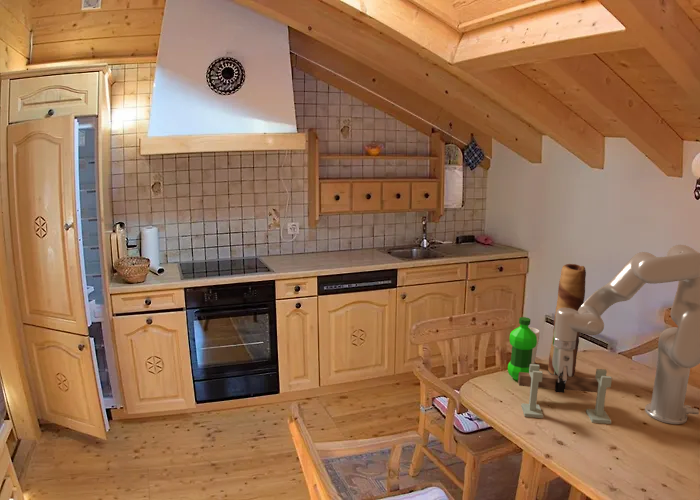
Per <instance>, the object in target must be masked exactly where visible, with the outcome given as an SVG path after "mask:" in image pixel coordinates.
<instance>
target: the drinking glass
mask: <svg viewBox="0 0 700 500" xmlns="http://www.w3.org/2000/svg"><path fill="white" fill-rule="evenodd" d="M528 327H529V328H530V329H531V330H532V331H533V332H534V333H535V334H536V337H537V344H536V347H534V348H533V350H532V360H531V364H536V356H537V352H538V347H539V341H540V330H539V329H537V328H536V327H531V326H528Z"/></svg>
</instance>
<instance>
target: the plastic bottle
mask: <svg viewBox="0 0 700 500" xmlns="http://www.w3.org/2000/svg"><path fill="white" fill-rule="evenodd" d="M518 324H519V326H518V327H516V328H514V329H513V330H511V331H510V334H509V344H510V345H511V356H510V361H509V362H508V364H507V373H508V375H509V376H511V378H512V379H513V380H514V381H517V382H518V376H519V372H525V373H529V368H530V364H531V360H532V350H533V348H534V347H536V344H537V337H536V334H535V333H534V332H533V331H532V330H531V329H530V328H529V327H530V326H529V325H531V318H530V317H526V316H521V317H519V318H518Z"/></svg>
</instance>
